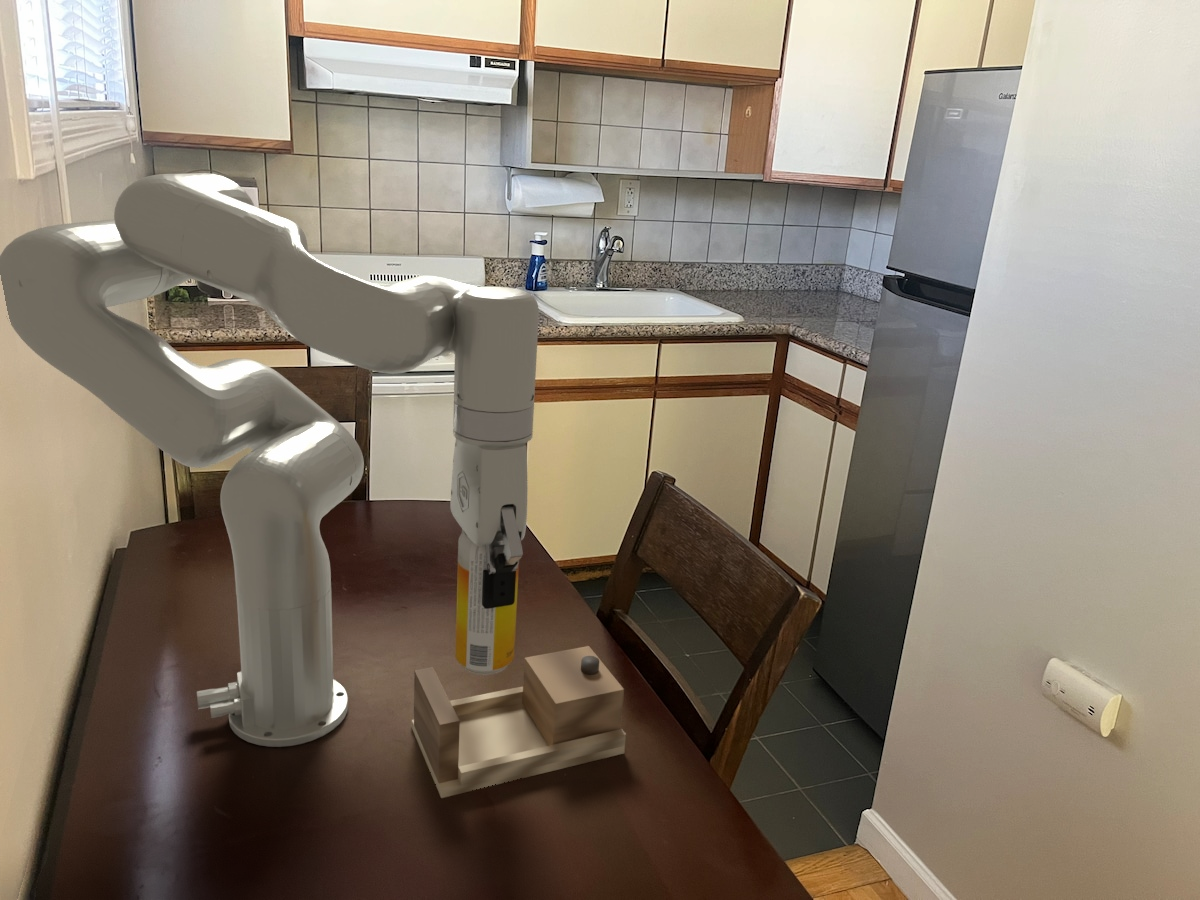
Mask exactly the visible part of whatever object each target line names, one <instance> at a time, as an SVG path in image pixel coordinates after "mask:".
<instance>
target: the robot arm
mask: <svg viewBox="0 0 1200 900" xmlns="http://www.w3.org/2000/svg"><path fill="white" fill-rule="evenodd" d="M113 214H114V215H113V217H114V219H107V220H106V219H103V220H96V221H95V220H94V221H83V222H73V223H72V222H71V223H70V222H69V223H63V224H54V225H48V226H43V227H39V228H36V229H34V230H31V231H27V232H26V233H24V234H22V235H18V237H16V238H14V239H13V240H12V241H11V242H10V243H8V244H7V245H6V246H5V247H4V249H3V251H1V254H0V275H1V281H2V285H3V290H4V295H5V301H6V306H7V311H8V315H9V319H10V322H11V324H10V325H11V327H12V328H13V330H14V331H15V333H16V334H17V336H19V338H20V339H21V340H22V342H23V343H24V344H26V346H27V347H29V348H30V349H31V350H32V351H33V352H34V353H35V354H36V355H37V356H39V357H40V358H41V359H42V360H44V361H45V362H47V363H48V364H49V365H50V366H52V367H53V368H55V369H56V370H58V372H61V374H63V375H65V376H66V377H68V378H70V379H71V380H73V381H74V382H75V383H77V384H78V385H80V386H81V387H82V388H84V389H86V390H87V391H89V392H90V394H92V395H94V396H95V397H96V398H97V399H98V400H99V401H101V402H102V403H104V405H105V406H107V407H108V408H109V409H110V410H111V411H113V412H114V413H115V414H117V415H118V416H119V417H120V418H121V419H123V421H125V422H126V423H127V424H129V425H130V426H131V427H132V428H134V429H135V430H136V431H137V432H139V433H140V434H141V435H142V436H143V437H145V438H146V439H147V440H148V441H150V442H151V443H152V444H153V445H155V446H156V447H157V448H158V449H159V450H161V451H163V453H164V454H166V455H167V456H168V457H170V458H171V459H173V460H174V461H176V462H177V463H179V464H181V465H183V466H186V467H189V468H194V469H201V468H207V467H210V466H212V465H216V464H218V463H221V462H222V461H225V460H227V459H229V458H231V457H233V456H235V455H236V454H239V452H241V451H244V450H246V449H247V448H249V449H250V450H251V451H249V453H247V454H245V455H244V456H243V457H241V458H240V459H239V460H238V461H237V462H236V463H235V464H234V465H233V466H232V468H230V470H229V471H228V472H227V474H226V476H225V478H224V481H223V483H222V485H221V486H222V487H221V489H220V496H219V497H220V509H221V514H222V517H223V521H224V524H225V527H226V532H227V534H228V535H227V536H228V538H229V543H230V548H231V553H232V554H231V555H232V560H233V569H234V581H235V582H234V583H235V595H236V606H237V624H238V639H239V655H240V656H239V657H240V671H238V672H237V673H236V675H237V681H234V682H229V683H227V686H224V687H218V688H209V689H203V690H196V697H197V698H196V699H197V708H198V709H197V710H202V709H203V710H204V709H207V708H210V718H211V719H215V718H218V717H224V716H225V715H226V716H228V722H229V727H230V729H231V730H232V732H233V733H234V734H235V735H236V736H237V737H238V738H240V739H242V740H244V741H246V742H247V743H251V744H254V745H257V746H263V747H269V748H270V747H271V748H273V747H274V748H275V747H276V748H282V747H293V746H298V745H302V744H306V743H309V742H312V741H314V740H317V739H320V738H321V737H323V736H325V735H327V734H328V733H330V732H331V731H333V730H334V729H335V728H337V726H339V725H340V724H341V723H342V722H343V720H344V719H345V718H346V715H347V713H348V710H349V696H348V693H347V690H346V688H345V687H344V686H343V685H342V684H341V683H340V682H338V681H337V680H336V679H334V656H333V655H334V654H333V651H334V648H333V612H332V611H333V610H332V609H333V608H332V605H333V604H332V603H333V602H332V581H331V578H332V575H331V574H332V573H331V572H332V571H331V562H330V558H329V553H328V550H327V548H326V545H325V542H324V540H323V538H322V535H321V530H320V526H321V525H320V524H321V520H322V518H323V517H325V516H327V514H328V513H329V512H330V511H331V510H333V509H334V508H335V507H336V506H337V505H339V504H340V503H341V502H342V501H344V500H345V499H346V498H347V497H348V496H350V495H351V494H352V493H353V492H354V491H355V489H356V488H357V487H358V485H359V484H360V482H361V480H362V479H363V476H364V475H363V474H364V467H365V464H364V456H363V452H362V450H361V447H360V445H359V443H358V442H357V441H356V439H355V438H354V436H353V435H352V434H351V432H349V431H348V430H347V428H346V427H345V426H344V425H343V424H342V423H340V421H338V420H336V418H334V417H333V416H332V415H331V414H330V413H328V412H327V411H326V410H325V409H323V408H322V407H321V406H320V405H319V404H318V403H317V402H315V401H314V400H313V399H311V397H309V396H308V395H306V394H305V393H304V392H303V390H301V389H299V388H298V387H297V386H296V385H294V384H293V383H292V382H291V381H290V380H288V379H287V378H286V377H285V376H284V375H282V374H281V373H279V372H278V371H276V370H275V369H274V368H272V367H270V366H268V365H266V364H265V363H261V362H259V361H256V360H253V359H249V358H238V357H237V358H229V359H225V360H220V361H218V362H215V363H211V364H209V365H207V366H205V365H204V366H203V365H199V364H197V363H195V362H193V361H191V360H190V359H189V358H187V357H186V356H184V355H183V354H182V353H181V352H179V351H178V350H176V349H175V348H174V347H172V346H171V344H169V343H168V342H167V340H165V339H164V338H162V337H161V336H159V334H157V333H155V332H154V331H152V330H150V329H148V327H147V328H146V327H145V326H143V325H141V324H138V323H137V322H134V321H132V320H129V319H127V318H125V317H124V316H123V317H122V316H121V315H118V314H116V313H115V312H114V311H111V310H110V309H108V308H109V307H114V306H119V305H123V304H127V303H132V302H137V301H142V300H145V299H148V298H150V297H155V296H157V295H159V294H163V293H164V292H167V291H170V290H171V289H173V288H175V287H177V286H180V285H181V284H183V283H185V282H187V281H189V280H194V281H197V282H200V283H203V284H205V285H208V286H210V287H214V288H215V289H218V290H221V291H223V292H225V293H228V294H230V295H232V296H235V297H237V298H240V299H243V300H245V301H246V302H249V303H252V304H255V305H256V306H259V307H261V308H262V309H263V310H264V311H265V312H266V313H267V316H269V317H270V318H271V320H273V322H275V323H276V324H277V325H278V326H279V327H281V328H282V329H283V330H284V332H286V333H287V334H289V335H290V336H291V337H293V338H294V339H295V340H297V341H299V342H300V343H301V344H304V346H305V345H306V346H307V347H309V348H312V349H314V350H316V351H317V352H320V353H323V354H325V355H327V356H330V357H333V358H335V359H338V360H341V361H343V362H345V363H349V364H351V365H354V366H356V367H358V368H362V369H365V370H368V371H372V372H376V373H380V374H381V373H383V374H389V375H390V374H391V375H392V374H393V375H394V374H395V375H396V374H403V373H408V372H410V371H412V370H414V369H416V368H418V367H420V366H421V365H424V364H425V363H427V362H429V361H430V360H432V359H435V358H439V357H441V356H445V355H448V354H451V353H452V354H454V371H453V372H454V373H453V374H454V375H453V376H454V377H453V381H454V382H453V423H452V424H453V426H452V427H453V429H452V434H453V437H454V438H455V440H454V441H455V442H454V450H453V459H452V471H451V472H452V473H451V474H452V475H451V487H450V488H451V489H450V504H449V505H450V512H451V514H452V516H453V518H454V519H455V522H457V523H458V525H459V527H460V528H461V533H462V532H463V530H464V532H465V533H466V534H467V536H468V537H469V538H470V539H471V541H472V542H473V543H474V544H475V545H477V546H479V547H483V546H484V545H485V553H486V564H487V570H483V587H482V605H483V607H484V608H485V609H489V608H495V607H502V606H508V605H512V604H513V603H514V602H515V583H516V571H517V569H518V561H519V562H520V560H521V558H522V557H523V555H524V552H523V546H522V541H523V540H524V538H525V536H526V528H527V521H528V520H527V519H528V491H529V489H528V488H529V487H528V455H527V443H529V442H530V441H531V440H532V439H533V433H534V431H533V429H534V428H533V427H534V413H535V412H534V411H535V410H534V409H535V393H536V392H535V391H536V390H535V389H536V377H537V376H536V373H537V358H538V357H537V356H538V355H537V354H538V353H537V352H538V337H539V336H538V335H539V334H538V333H539V316H540V315H539V314H540V312H539V304H538V301H537V300H536V298H535V296H534V295H532V294H531V293H530V292H527V290H526V291H525V290H523V289H519V288H514V287H506V286H491V285H490V286H477V285H472V284H468V283H463V282H459V281H456V280H454V279H449V278H446V277H442V276H436V275H417V276H414V277H411V278H407V279H404V280H400V281H396V282H395V283H392V284H391V283H390V284H388V285H384V286H381V285H379V284H375V283H372V282H370V281H367V280H364V279H362V278H359V277H357V276H354V275H351V274H349V273H346V272H343V271H341V270H339V269H336V268H335V267H333V266H330V265H328V264H326V263H325V262H322V261H320V260H319V259H317V258H316V257H314V256H313V255H312V254H310V253H309V252H308V250H309V249H308V241H307V237H306V234H305V231H303V228H302V227H301V226H300V225H299V224H298V223H296V222H294V221H292V220H290V219H287V218H285V217H282V216H280V215H277V214H274V213H272V212H270V211H267V210H264V209H261V208H260V207H259V208H258V207H256V206H255V204H254V202H253V199H252V198H251V197H250V195H249V194H248V192H247V191H246V190H245V189H244V188H243V187H242V186H240V185H239V184H238V183H236V182H235V181H234V180H232V179H230V178H227V177H225V176H223V175H218V174H216V173H208V172H198V173H197V172H192V173H189V172H188V173H159V174H153V175H148V176H144V177H142V178H139V179H138V180H135V181H133V182H132V183H131V184H129V185H128V186H127V187H126V188H125V189H124V190H123V191H122V192H121V194H120V196H118V199H117V201H116V203H115V207H114V213H113ZM10 322H9V323H10ZM498 533H502V536H503V539H495V540H493V539H494V537H495V535H496V534H498ZM497 546H504V550H503V553H500V554H498V556H497V557H496V558H495V553H494V547H497Z"/></svg>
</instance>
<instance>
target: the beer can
mask: <svg viewBox="0 0 1200 900" xmlns="http://www.w3.org/2000/svg"><path fill="white" fill-rule="evenodd" d="M495 539H503V536H502V533H498V534H496V535H495V537H494V539H493V540H495ZM457 547H458V548H457V549H458V550H457V574H456V575H457V577H456V578H457V579H456V580H457V583H456V585H457V586H456V618H455V621H456V622H455V650H454V654H455V655H454V657H455V660H456V661H457V662H458V664H460V666H461V667H462V669H463V670H465V671H466V672H469V673H470V674H474V675H479V676H489V675H490V676H491V675H495V674H498V673H501V672H503V671H504V670H505V669H507V667H508V666H509V665H510V664H511V663H512V662H513V661H514V658H515V646H516V645H515V644H516V643H515V642H516V628H517V627H516V626H517V609H518V608H517V606H518V591H519V588H518V586H519V573H520V571H519V567H520V560H519V561H518V569H517V571H516V583H515V602H514V603H513V604H512V605H508V606H502V607H495V608H489V609H485V608H484V607H483V605H482V587H483V570H487V564H486V553H485V545H484V546H483V547H479V546H477V545H475V544H474V543H473V542H472V541H471V539H470V538H469V537H468V536H467V534H466V533H465V532H464V530H463V532H462V531H461V533H460V535H459V537H458V543H457ZM503 550H504V546H497V547H494V553H495V558H496V557H497V556H498V554H500V553H503Z"/></svg>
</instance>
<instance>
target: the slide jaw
mask: <svg viewBox="0 0 1200 900" xmlns="http://www.w3.org/2000/svg"><path fill="white" fill-rule="evenodd" d="M523 663H524V666H523V680H522V681H523V682H522V686H523V697H522V703H523V705H524V707H525V708H526V710H527V711H528V713H529V715H530V716H531V718H532V719H533V721H534V723H535V724H536V726H537V727H538V729H539V731H540V732H541V734H542V736H543V737H544V739H545V740H546V742H547V744H548V745H549V746H550V745H554V744H559V743H563V742H567V741H572V740H576V739H580V738H585V737H589V736H593V735H597V734H602V733H606V732H610V731H615V730H619V729H621V723H622V713H623V703H624V693H625V688H624V687H623V686H622V685H621V683H619V681H618V680H617V679H616V678H615V676H614V675H613V673H611V672H610V670H609V669H608V667H606V665H605V664H604V662H602V660H601V659H600V658H599V656H598V655H597V654H596V653H595V652H594V651H593V649H592V648H591V647H590V646H589V645H585V646H582V647H581V646H579V647H575V648H571V649H566V650H565V649H564V650H559V651H554V652H548V653H544V654H543V653H542V654H538V655H531V656H527V657H524V662H523Z"/></svg>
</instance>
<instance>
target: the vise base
mask: <svg viewBox="0 0 1200 900" xmlns="http://www.w3.org/2000/svg"><path fill="white" fill-rule="evenodd" d="M413 672H414V675H413V676H414V682H413V683H414V684H413V686H414V687H413V690H414V691H413V693H414V695H413V719H411V729H412V731H413V734H414V736H415V739H416V742H417V744H418V746H419V749H420V751H421V753H422V756H423V758H424V760H425V763H426V766H427V768H428V769H429V770H428V771H429V773H430V772H431V773H430V775H431V777H432V779H433V782H434V784H436V785H435V787H436V789H437V791H438V794H439V796H440V798H441V799H444V798H448V797H451V796H452V797H453V796H456V795H461V794H464V793H467V792H468V793H469V792H472V790H473V791H476V789H477V790H480V788H481V789H485V788H487V787H488V786H489V787H493V786H497V785H501V784H504V782H505V783H508V781H509V782H514V781H517V779H518V780H521V779H520V778H522V779H525V778H530V777H534V776H537V775H541V774H545V773H550V772H553V771H554V772H555V771H558V770H562V769H566V768H571V767H573V766H578V765H582V764H587V763H590V762H594V761H595V762H596V761H599V760H604V759H607V758H610V757H611V758H612V757H615V756H618V755H619V756H620V755H624V754H625V749H626V739H627V733H626V732H625V731H624V730H623V728H620V729H619V730H615V731H610V732H606V733H602V734H597V735H593V736H589V737H585V738H580V739H576V740H572V741H567V742H563V743H559V744H554V745H550V746H549V745H548V744H547V742H546V740H545V739H544V737H543V736H542V734H541V732H540V731H539V729H538V727H537V726H536V724H535V723H534V721H533V719H532V718H531V716H530V715H529V713H528V711H527V710H526V708H525V707H524V705H523V703H522V697H523V685H522V686H518V687H512V688H507V689H502V690H498V691H492V692H487V693H483V694H477V695H472V696H467V697H463V698H458V699H452V700H450V699H449V696H448V694H447V693H446V690H445V688H444V686H443V684H442V682H441V681H440V678H439V677H438V674H437V672H436V670H435V669H434V667H433V666H430V667H424V668H419V669H414V670H413ZM513 780H514V781H513ZM495 784H496V785H495ZM492 785H493V786H492ZM484 787H485V788H484ZM489 787H488V788H489Z"/></svg>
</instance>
